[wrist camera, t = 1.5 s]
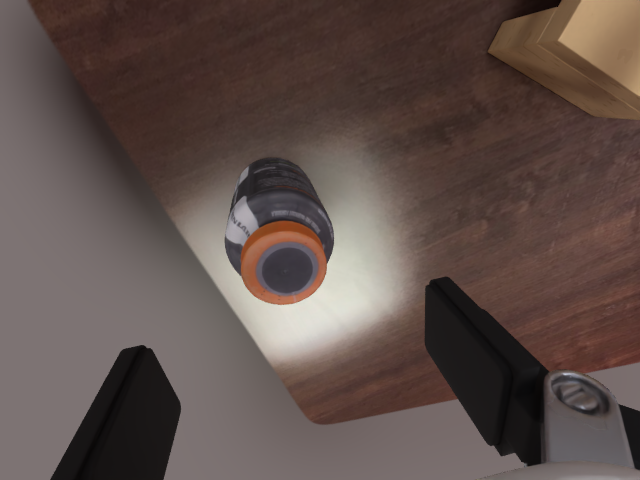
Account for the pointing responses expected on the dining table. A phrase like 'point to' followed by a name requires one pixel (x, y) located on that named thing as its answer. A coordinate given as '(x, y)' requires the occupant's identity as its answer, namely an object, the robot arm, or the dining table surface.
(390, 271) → the dining table surface
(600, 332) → the dining table surface
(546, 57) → the shelf
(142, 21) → the dining table surface
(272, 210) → the pill bottle
